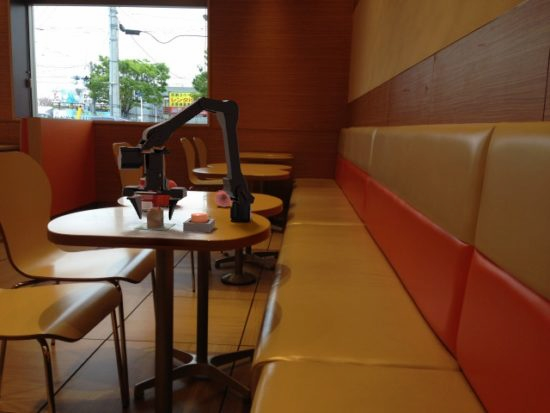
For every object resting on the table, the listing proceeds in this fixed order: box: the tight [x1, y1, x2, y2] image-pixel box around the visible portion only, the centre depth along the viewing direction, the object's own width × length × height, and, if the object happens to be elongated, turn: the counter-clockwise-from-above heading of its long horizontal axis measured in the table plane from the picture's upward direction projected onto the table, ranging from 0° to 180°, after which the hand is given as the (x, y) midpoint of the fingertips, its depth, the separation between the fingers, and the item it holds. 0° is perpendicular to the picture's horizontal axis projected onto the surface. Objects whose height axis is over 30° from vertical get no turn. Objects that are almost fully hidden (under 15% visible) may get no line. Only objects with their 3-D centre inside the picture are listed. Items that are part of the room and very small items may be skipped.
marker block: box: [146, 207, 165, 227], centre depth 140 cm, size 4×4×6 cm
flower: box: [214, 189, 233, 208], centre depth 182 cm, size 8×8×6 cm
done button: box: [190, 212, 209, 223], centre depth 138 cm, size 5×5×3 cm
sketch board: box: [133, 222, 176, 231], centre depth 140 cm, size 10×9×1 cm
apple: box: [158, 179, 178, 207], centre depth 179 cm, size 10×10×10 cm
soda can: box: [138, 177, 159, 212], centre depth 166 cm, size 7×7×12 cm
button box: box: [182, 217, 216, 233], centre depth 138 cm, size 8×8×2 cm
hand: (155, 219), depth 140 cm, fingers open, 9 cm apart
